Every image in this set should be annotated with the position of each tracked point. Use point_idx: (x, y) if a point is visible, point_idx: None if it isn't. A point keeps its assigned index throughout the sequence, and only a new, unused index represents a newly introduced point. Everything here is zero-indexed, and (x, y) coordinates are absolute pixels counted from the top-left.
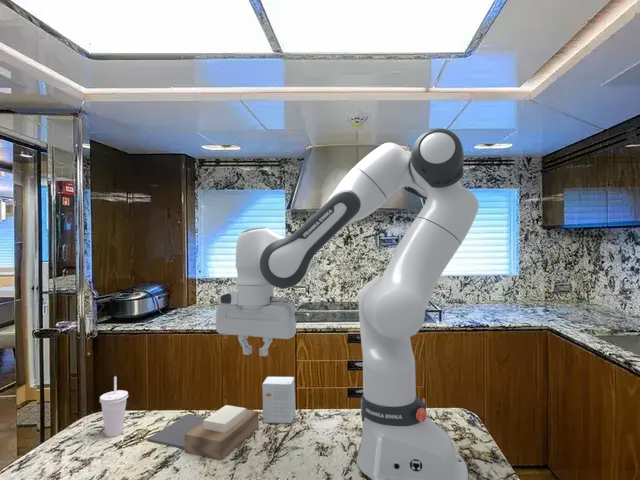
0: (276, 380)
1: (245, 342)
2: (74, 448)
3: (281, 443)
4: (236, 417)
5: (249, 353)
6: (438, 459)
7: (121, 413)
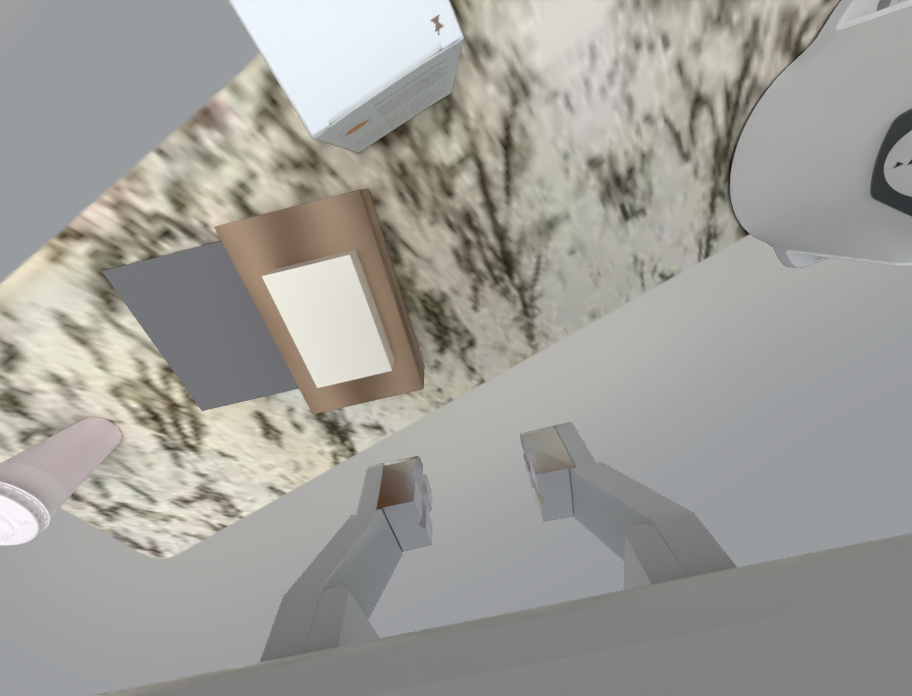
0: (343, 37)
1: (368, 569)
2: (130, 493)
3: (499, 231)
4: (373, 313)
5: (426, 481)
6: None
7: (72, 467)
